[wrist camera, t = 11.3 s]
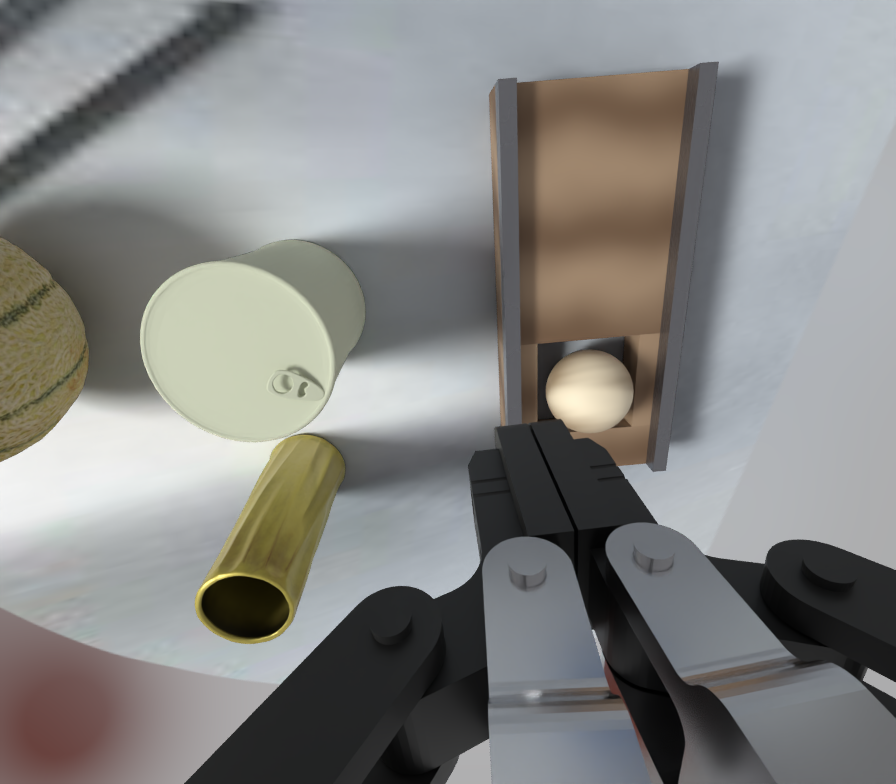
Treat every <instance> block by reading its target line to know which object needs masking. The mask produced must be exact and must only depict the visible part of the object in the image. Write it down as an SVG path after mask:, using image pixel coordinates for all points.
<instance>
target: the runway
mask: <svg viewBox="0 0 896 784" xmlns="http://www.w3.org/2000/svg"><path fill="white" fill-rule="evenodd" d="M718 63H719V62H708V63H700V64H698V65H696V66H694V67H692V68H690V69H684V70H671V71H659V72H646V73H634V74H621V75H609V76H596V77H584V78H571V79H559V80H546V81H534V82H521V83H517V78H508V79H498V80H497V82H496V84H495V85H494V87H493V89H492V90H491V92H490V94H489V102H490V131H491V159H492V188H493V216H494V245H495V273H496V302H497V330H498V359H499V387H500V416H501V426H508V425H516V424H524V423H527V424H528V423H531V422H540V421H548V420H556V418H552V419H541V420H537V344H541V343H552V342H564V341H575V340H587V339H598V338H609V337H621V336H625V338H624V351H623V365H624V366H625V367H626V369H627V370H628V372H629V374H630V376H631V379H632V383H633V390H634V392H633V400H632V404H631V407H630V409H629V411H628V413H627V414H626V415H625V417H624V418H623V419H622V420H621V421H620V422H619V423H618V424H617V425H615V426H614V427H612V428H610V429H608V430H606V431H602V432H598V433H581V432H577V431H574V430H571V429H569V428H567V429H568V431H569V432H570V434H571V436H572V437H573V439H580V438H589V439H591V440H593V441H594V442H596V443H597V444H599V445H601V446H602V447H604V448H605V449H606V450H607V451H608V453H609V454H610V456H611V457H612V458H613V460H614V461H615V463H616V466H623V465H634V464H645V463H646V464H647V465H648V467H649V468H650V469H651V470H652V471H653V472H655V471H666V465H667V458H668V450H669V442H670V434H671V427H672V419H673V411H674V404H675V396H676V388H677V380H678V373H679V365H680V357H681V349H682V342H683V334H684V326H685V319H686V311H687V303H688V295H689V288H690V280H691V272H692V264H693V257H694V249H695V241H696V233H697V226H698V218H699V210H700V203H701V195H702V187H703V179H704V172H705V164H706V156H707V148H708V141H709V133H710V125H711V118H712V110H713V102H714V94H715V87H716V79H717V71H718Z"/></svg>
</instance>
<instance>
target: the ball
mask: <svg viewBox="0 0 896 784" xmlns="http://www.w3.org/2000/svg"><path fill="white" fill-rule="evenodd" d="M633 392H634V390H633V383H632V379H631V376H630V374H629V372H628V370H627V369H626V367H625V366H624V365H623V364H622V363H621V362H620V361H619V360H618V359H617V358H615V357H614V356H612V355H611V354H608V353H606V352H603V351H599V350H580V351H576V352H573V353H571V354H569V355H567V356H565V357H564V358H562V359H561V360H560V361H559V362H558V363H557V364H556V365H555V366H554V368H553V369H552V371H551V373H550V375H549V377H548V380H547V384H546V399H547V403H548V406H549V408H550V410H551V412H552V414H553V415H554V417H555V418H556V419H561V420H562V421H563V422H564V424H565V425H566V427H567V428H569V429H571V430H574V431H577V432H581V433H598V432H602V431H606V430H608V429H610V428H612V427H614V426H615V425H617V424H618V423H619V422H620V421H621V420H622V419H623V418H624V417H625V415H626V414H627V413H628V411H629V409H630V407H631V404H632V400H633Z"/></svg>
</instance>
